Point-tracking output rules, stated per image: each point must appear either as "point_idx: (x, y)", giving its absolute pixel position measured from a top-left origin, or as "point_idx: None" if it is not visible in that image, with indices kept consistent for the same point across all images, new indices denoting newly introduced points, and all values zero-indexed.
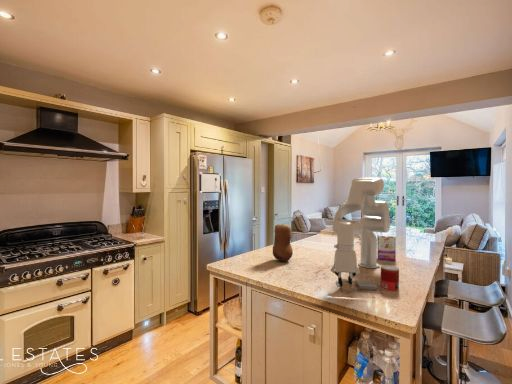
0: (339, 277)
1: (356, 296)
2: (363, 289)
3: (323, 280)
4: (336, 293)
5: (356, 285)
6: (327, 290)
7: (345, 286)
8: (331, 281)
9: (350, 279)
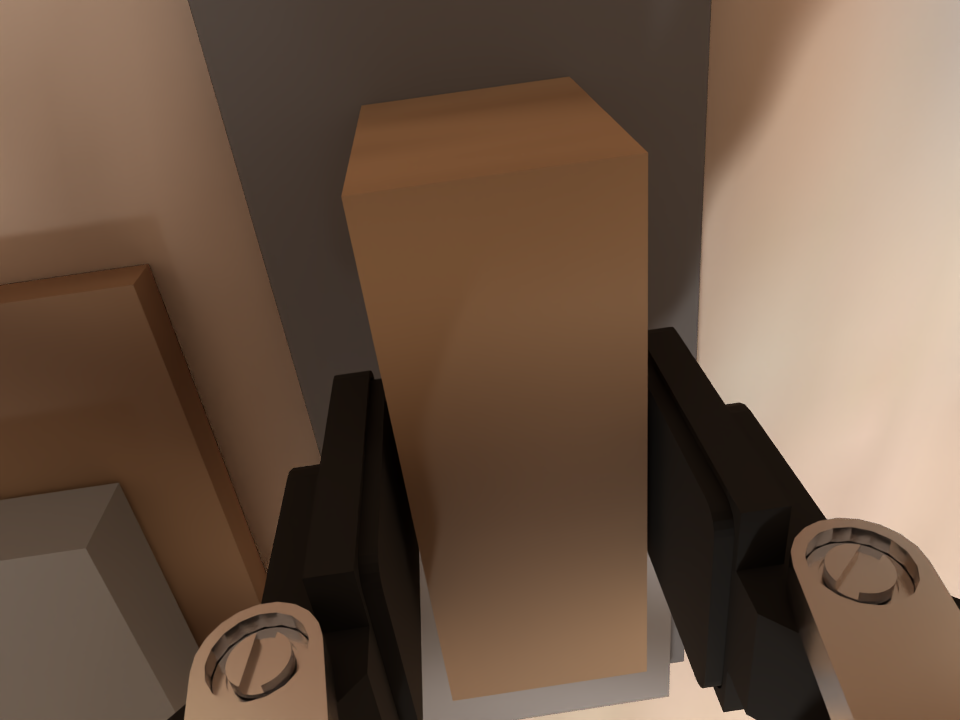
0: (832, 544)
1: (157, 19)
2: (21, 492)
3: None
4: (751, 82)
5: None
6: (950, 230)
7: (534, 145)
8: None
9: (321, 550)
